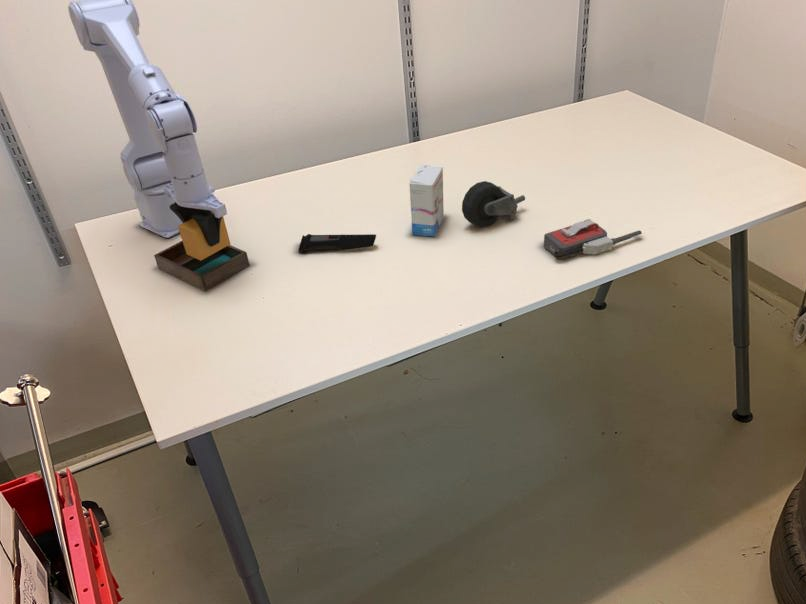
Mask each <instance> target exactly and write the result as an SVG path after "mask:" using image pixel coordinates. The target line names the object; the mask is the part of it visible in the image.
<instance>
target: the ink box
mask: <svg viewBox="0 0 806 604" xmlns="http://www.w3.org/2000/svg"><path fill="white" fill-rule="evenodd" d="M409 181H410V182H409V199H410V215H411V216H410V218H411V234H412V235H414V236H424V237H433V238H434V237H435V236H436V234H437V232H438V230H439V228H440V226H441V224H442V222H443V220H444V218H445V211H444V210H445V209H444V168H443V167H442V166H435V165H428V164H419V165H418V167H417V169H416V170H415V171H414V174H413V175H412V176H411V178H409Z"/></svg>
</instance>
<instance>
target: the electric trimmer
mask: <svg viewBox="0 0 806 604" xmlns="http://www.w3.org/2000/svg"><path fill="white" fill-rule="evenodd" d="M376 238H377V234H374V233H373V234H371V233H369V234H310V233H307V234H306V235H302V237H301V239H300V243H299V246H298V250H297V251H298V252H301V253H305V251H309V250H311V251H312V250H313V251H314V250H330V249H332V250H335V249H339V250H341V251H349V250H357V249H365V248H372V247H373V246H374V245H375V242H376Z"/></svg>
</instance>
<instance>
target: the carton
mask: <svg viewBox="0 0 806 604" xmlns="http://www.w3.org/2000/svg"><path fill="white" fill-rule="evenodd" d="M178 228H179V231H180V232H179V235H180V238H181V241H183V244H184V247H185V250H186V253H187V255H189V256H192V257H194V258H196V259H198V260H200V261H201V260H203V259H205V258H207V257H208V256H210V255H212V254H214V253H216V252H217V251H219V250H221V249H223V248H225V247H226V246H228V245H232V244H231V240H230V236H229V232H228V229H227V225H226V222H225V218H224V216H222V219H221V224H220V242H219V243H218V244H216V245H214V246H212V247H210V246H209V245H208V244H207V242H206V240H205V238H204V235H203V233H202V231H201V229H200V227H199V225H198V224H197V223H196V221H195V220H194V219H193V218H192V219H190V220H188V221H186V222H184V223H182V224H180V225H178Z"/></svg>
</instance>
